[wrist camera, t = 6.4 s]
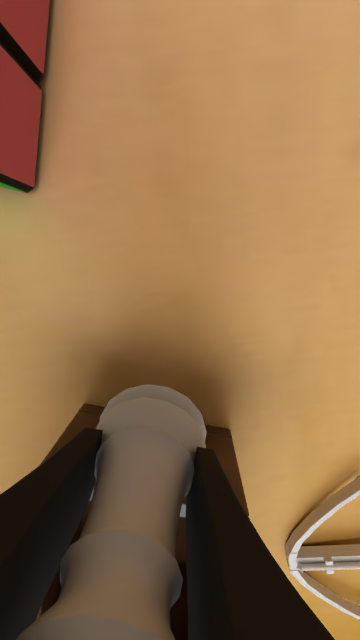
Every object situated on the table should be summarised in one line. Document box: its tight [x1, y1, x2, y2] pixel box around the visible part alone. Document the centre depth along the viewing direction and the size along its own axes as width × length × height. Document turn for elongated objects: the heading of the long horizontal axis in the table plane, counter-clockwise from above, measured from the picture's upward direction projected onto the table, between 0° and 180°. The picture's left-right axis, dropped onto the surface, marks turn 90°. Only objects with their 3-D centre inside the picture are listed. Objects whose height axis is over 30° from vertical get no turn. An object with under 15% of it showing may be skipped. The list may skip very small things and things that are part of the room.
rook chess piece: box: [16, 384, 207, 640], centre depth 8 cm, size 4×4×8 cm
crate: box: [36, 404, 249, 640], centre depth 16 cm, size 12×10×6 cm
